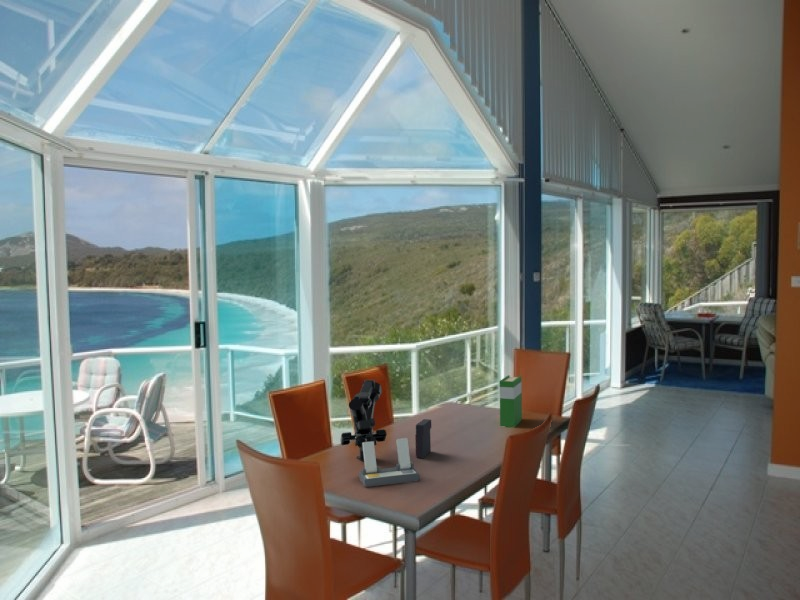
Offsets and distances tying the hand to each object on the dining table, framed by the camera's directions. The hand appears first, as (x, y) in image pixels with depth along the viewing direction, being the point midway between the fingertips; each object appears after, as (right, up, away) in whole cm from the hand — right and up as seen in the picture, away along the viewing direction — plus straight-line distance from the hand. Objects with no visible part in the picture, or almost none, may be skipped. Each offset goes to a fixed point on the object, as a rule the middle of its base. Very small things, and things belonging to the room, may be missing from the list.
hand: (366, 455), depth 257 cm
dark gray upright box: (+24, -7, +28) cm, 37 cm away
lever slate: (+15, -4, -2) cm, 16 cm away
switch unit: (+9, -9, -3) cm, 13 cm away
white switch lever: (+2, -5, -6) cm, 7 cm away
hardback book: (+73, -3, +80) cm, 108 cm away
